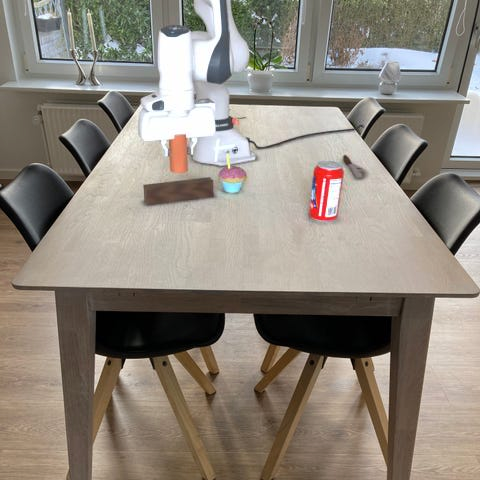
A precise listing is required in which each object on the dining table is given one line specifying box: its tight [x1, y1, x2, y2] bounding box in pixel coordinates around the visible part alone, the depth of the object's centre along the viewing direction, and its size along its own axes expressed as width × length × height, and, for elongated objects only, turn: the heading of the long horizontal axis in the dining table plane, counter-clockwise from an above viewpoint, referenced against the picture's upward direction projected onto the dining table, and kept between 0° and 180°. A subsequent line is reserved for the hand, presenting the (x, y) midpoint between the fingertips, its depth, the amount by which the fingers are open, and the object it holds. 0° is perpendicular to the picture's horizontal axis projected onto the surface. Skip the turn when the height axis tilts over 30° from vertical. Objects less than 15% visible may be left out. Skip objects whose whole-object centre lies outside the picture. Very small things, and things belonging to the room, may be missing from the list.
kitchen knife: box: [342, 154, 365, 179], centre depth 180 cm, size 21×2×5 cm
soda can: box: [308, 160, 345, 223], centre depth 140 cm, size 8×8×15 cm
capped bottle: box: [168, 134, 189, 174], centre depth 138 cm, size 5×5×11 cm
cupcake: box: [218, 153, 248, 194], centre depth 156 cm, size 9×8×12 cm
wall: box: [142, 176, 214, 206], centre depth 150 cm, size 20×3×5 cm, turn 114°
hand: (178, 155), depth 139 cm, fingers closed on capped bottle, 5 cm apart
